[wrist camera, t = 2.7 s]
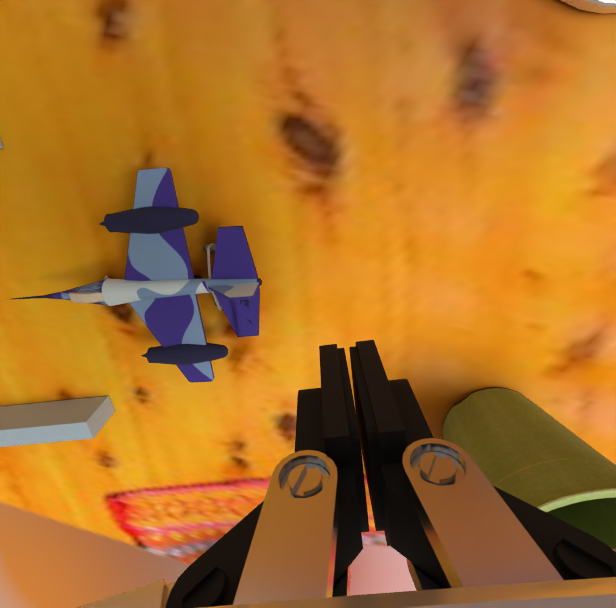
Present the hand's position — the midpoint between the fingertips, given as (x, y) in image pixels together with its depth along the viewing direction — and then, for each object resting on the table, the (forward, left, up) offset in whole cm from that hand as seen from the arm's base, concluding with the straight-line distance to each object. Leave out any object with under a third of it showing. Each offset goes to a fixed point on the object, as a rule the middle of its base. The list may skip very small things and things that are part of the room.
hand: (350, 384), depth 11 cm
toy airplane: (+11, 0, -14) cm, 18 cm away
